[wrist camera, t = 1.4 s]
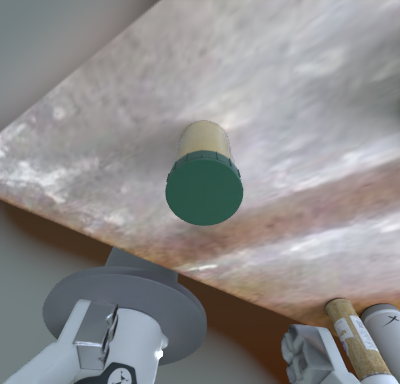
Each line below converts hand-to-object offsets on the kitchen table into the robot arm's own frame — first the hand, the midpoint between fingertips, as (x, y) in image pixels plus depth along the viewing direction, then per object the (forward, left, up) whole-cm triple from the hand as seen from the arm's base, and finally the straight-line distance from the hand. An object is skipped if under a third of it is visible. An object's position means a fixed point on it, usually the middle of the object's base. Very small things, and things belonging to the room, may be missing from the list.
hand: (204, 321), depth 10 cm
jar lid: (0, 0, -10) cm, 10 cm away
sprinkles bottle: (-14, -36, -21) cm, 44 cm away
